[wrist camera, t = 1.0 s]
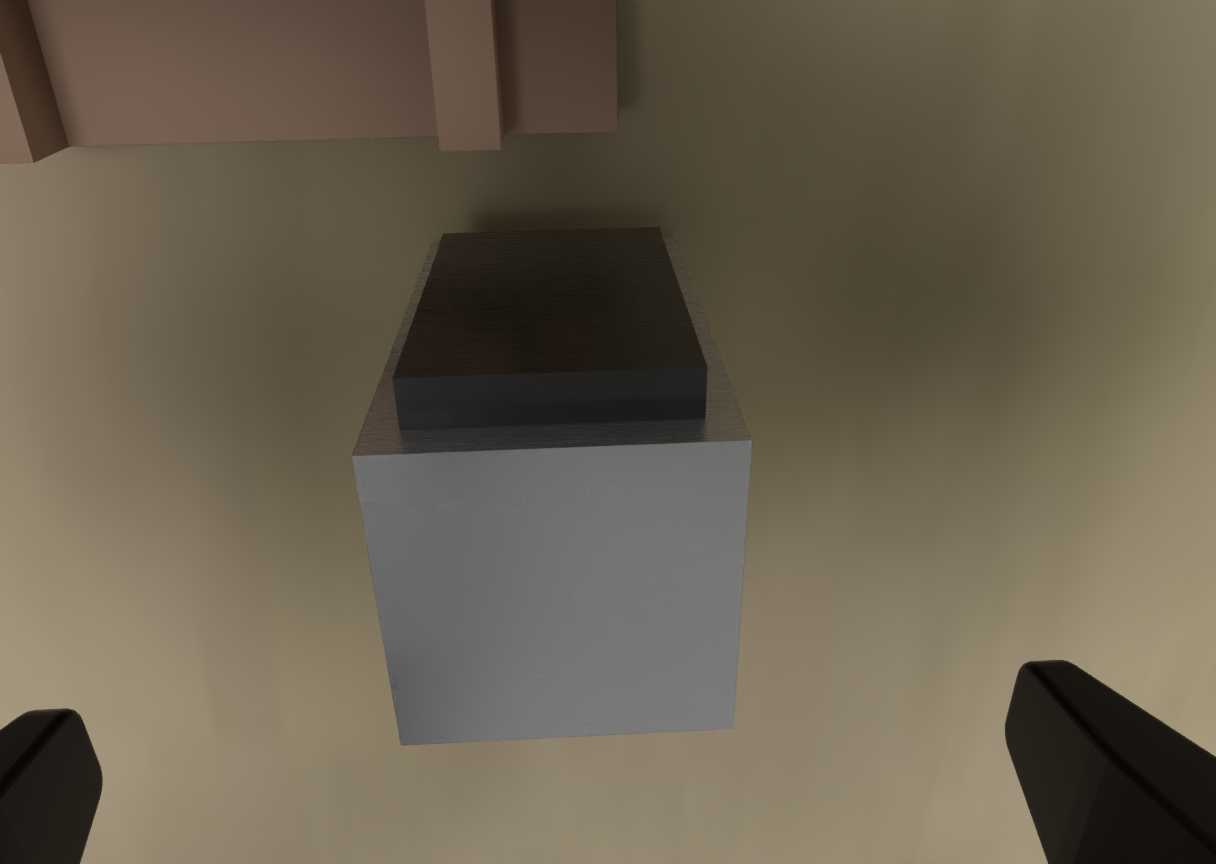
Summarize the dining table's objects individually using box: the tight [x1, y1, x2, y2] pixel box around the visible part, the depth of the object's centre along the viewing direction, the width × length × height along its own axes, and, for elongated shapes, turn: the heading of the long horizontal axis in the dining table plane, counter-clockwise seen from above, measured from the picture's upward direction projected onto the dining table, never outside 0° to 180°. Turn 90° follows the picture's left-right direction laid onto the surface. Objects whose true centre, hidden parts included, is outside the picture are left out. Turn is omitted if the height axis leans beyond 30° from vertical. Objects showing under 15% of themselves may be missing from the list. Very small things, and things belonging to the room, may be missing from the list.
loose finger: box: [352, 227, 752, 745], centre depth 13 cm, size 5×4×7 cm
